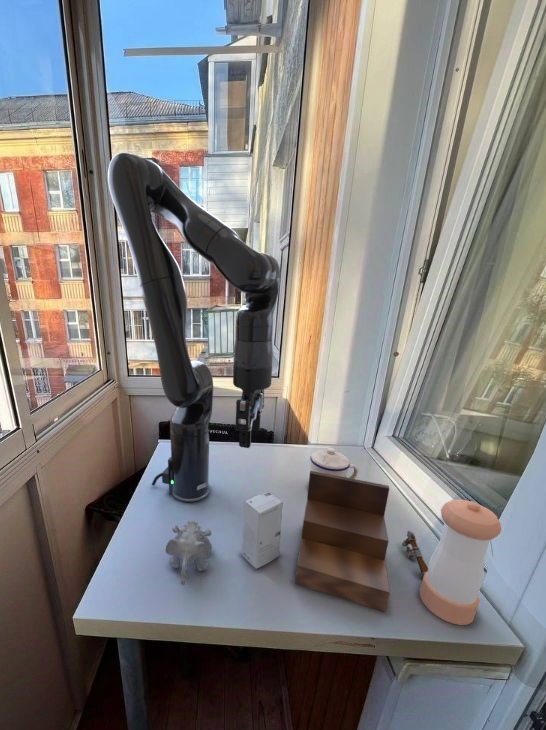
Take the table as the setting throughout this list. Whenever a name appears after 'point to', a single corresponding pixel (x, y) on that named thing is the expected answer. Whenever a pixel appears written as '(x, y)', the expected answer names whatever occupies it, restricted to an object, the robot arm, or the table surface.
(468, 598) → the salt shaker
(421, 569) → the wooden post with brackets
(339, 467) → the teacup with lid
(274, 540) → the cosmetic box
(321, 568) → the shelf riser
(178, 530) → the elephant statuette
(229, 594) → the table surface
